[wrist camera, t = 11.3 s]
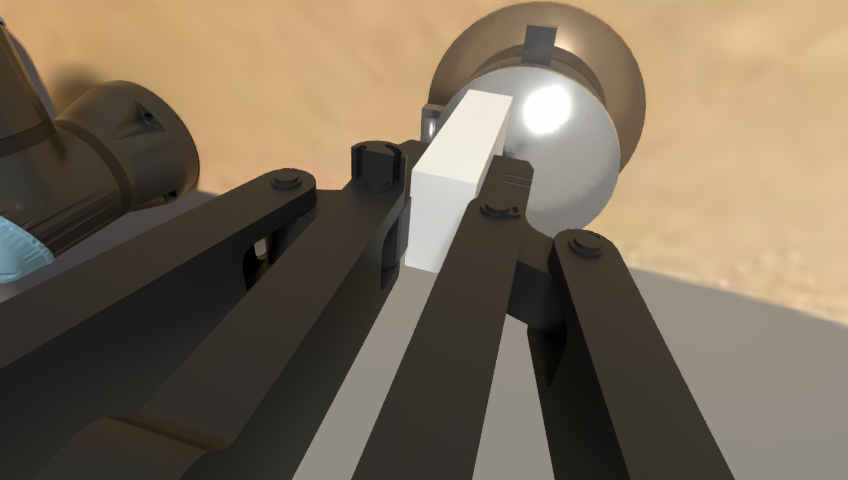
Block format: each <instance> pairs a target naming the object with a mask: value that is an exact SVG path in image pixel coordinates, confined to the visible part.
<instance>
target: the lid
mask: <svg viewBox="0 0 848 480" xmlns="http://www.w3.org/2000/svg"><path fill="white" fill-rule="evenodd" d="M469 89H470V90H476V91H482V92H488V93H494V94H500V95H505V96H511V97H513V101H512V106H511V111H510V116H509V121H508V126H507V131H506V136H505V141H504V146H503V152H502V156H505V157H510V158H515V159H520V160H525V161H529V163H530V164H531V166H532V167H533V169H534V174H533V179H532V184H531V189H530V194H529V199H528V204H527V209H526V219H527V221H528V223H529V224H530V225H531V226H532V227H533V228H535V229H536V230H537V231H539V232H541V233H543V234H544V235H546V236H549V237H551V238H553V239H554V237H555V236H556V235H557V234H558V233H559V232H560V231H563V230H567V229H582V228H584V227H585V226H586V225H588V224H589V223H590V222H591V221H592V220H593V219H595V218H596V217H597V216H598V215H599V213H600V212H601V211H602V210H603V208H604V207H605V206H606V204H607V203H608V201H609V199H610V197H611V196H612V193H613V191H614V188H615V186H616V183H617V179H618V174H619V166H620V146H619V140H618V135H617V131H616V128H615V126H614V123H613V120H612V118H611V117H610V115H609V113H608V111H607V109H606V108H605V106H604V105H603V104H602V103H601V101H600V100H599V99H598V98H597V97H596V96H595V95H594V94H593V93H592V92H591V91H590V90H589V89H588V88H587V87H585V86H584V85H583V84H581V83H580V82H578V81H577V80H575V79H573V78H572V77H570V76H568V75H566V74H564V73H561V72H558V71H555V70H552V69H548V68H543V67H539V66H525V65H524V66H510V67H505V68H501V69H497V70H494V71H491V72H488V73H486V74H484V75H482V76H480V77H478V78H476V79H474V80H473V81H471V82H470V83H469V84H467V85H466V86H464V87H463V88H462V89H461V90H460V91H459V92H458V93H457V94H456V95H455V96H454V97H453V98H452V99H451V100H450V102H449V103H448V104H447V105H446V106H445V108H444V110H443V111H442V113H441V115H440V116H439V119H438V118H437V117H435V116H427V117H425V129H424V142H426V143H432V141H433V140H434V138H435V137H436V136H437V134H438V133H439V131H440V130H441V129H442V127H443V126H444V124H445V123H446V121H447V120H448V119H449V117H450V116H451V114H452V113H453V112H454V110H455V109H456V107H457V106H458V105H459V103H460V102H461V100H462V99H463V97H464V96H465V95H466V93H467V92H468V90H469Z"/></svg>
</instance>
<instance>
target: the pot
mask: <svg viewBox="0 0 848 480" xmlns="http://www.w3.org/2000/svg"><path fill="white" fill-rule="evenodd" d="M524 65H525V66H539V67H543V68H548V69H552V70H555V71H558V72H561V73H564V74H566V75H568V76H570V77H572V78H573V79H575V80H577V81H578V82H580V83H581V84H583V85H584V86H585V87H587V88H588V89H589V90H590V91H591V92H592V93H593V94H594V95H595V96H596V97H597V98H598V99H599V100H600V101H601V103H602V104H603V105H604V106H605V108H606V109H607V111H608V113H609V115H610V117H611V118H612V120H613V123H614V126H615V128H616V131H617V135H618V140H619V146H620V166H619V173H620V172H621V171H622V169H623V168H624V167H625V165H626V164H627V163H628V161H629V160H630V158H631V156H632V154H633V153H634V151H635V149H636V146H637V144H638V141H639V139H640V137H641V133H642V129H643V125H644V119H645V110H646V101H645V89H644V84H643V78H642V75H641V73H640V70H639V67H638V64H637V61H636V60H635V58H634V56H633V54H632V52H631V50H630V48H629V47H628V46H627V44H626V43H625V42H624V40H623V39H622V38H621V37H620V35H618V34H617V33H616V32H615V31H614V30H613V29H612V28H611V27H610V26H609V25H608V24H606V23H605V22H604V21H602V20H601V19H599V18H598V17H596V16H595V15H593V14H591V13H589V12H587V11H585V10H583V9H580V8H577V7H573V6H570V5H567V4H562V3H556V2H538V1H535V2H527V3H519V4H515V5H512V6H508V7H504V8H502V9H499V10H497V11H495V12H492V13H490V14H488V15H487V16H485V17H483V18H481V19H480V20H478V21H476V22H475V23H474V24H473V25H471V26H470V27H469V28H468V29H466V30H465V31H464V32H463V33H462V34H461V35H460V36H459V37H458V38H457V39H456V40H455V41H454V42H453V43H452V45H451V46H450V47H449V49H448V50H447V51H446V53H445V54H444V56H443V58H442V60H441V61H440V63H439V65H438V67H437V69H436V72H435V74H434V77H433V79H432V83H431V87H430V91H429V99H428V104H425V106H424V107H423V108H422V118H421V140H420V141H421V142H424V129H425V117H427V116H435V117H437V118H438V119H439V116H440V115H441V113H442V111H443V110H444V108H445V106H446V105H447V104H448V103H449V102H450V100H451V99H452V98H453V97H454V96H455V95H456V94H457V93H458V92H459V91H460V90H461V89H462V88H463V87H464V86H466V85H467V84H469V83H470V82H471V81H473V80H474V79H476V78H478V77H480V76H482V75H484V74H486V73H488V72H491V71H494V70H497V69H501V68H505V67H510V66H524Z"/></svg>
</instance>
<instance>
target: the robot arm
mask: <svg viewBox="0 0 848 480" xmlns="http://www.w3.org/2000/svg"><path fill="white" fill-rule="evenodd" d="M4 26H6V24H5V22H4V20H3V18H2V17H0V283H7V282H11V281H14V280H17V279H19V278H21V277H22V276H24V275H26V274H28V273H30V272H32V271H34V270H36V269H38V268H40V267H42V266H43V265H48V264H50V263H51V262H53V260H54V259H55V258H56V257H58V256H59V255H61V254H62V253H64V252H66V251H67V250H69V249H70V248H72V247H74V246H75V245H77V244H79V243H80V242H82V241H83V240H85V239H87V238H88V237H90V236H91V235H93V234H94V233H96V232H98V231H99V230H101V229H102V228H104V227H106V226H107V225H109V224H110V223H112V222H114V221H115V220H116V219H118V218H120V217H121V216H123V215H125V214H126V213H129V212H133V211H138V210H143V209H147V208H152V207H156V206H160V205H165V204H169V203H171V202H174V201H175V200H177V199H179V198H180V197H182V196H183V195H185V194H186V193H188V192H189V191H190V190H191V189H192V188H193V187H194V185H195V183H196V181H197V178H198V172H199V162H198V156H197V152H196V148H195V145H194V143H193V140H192V138H191V136H190V134H189V132H188V130H187V128H186V127H185V125H184V124H183V122H182V121H181V119H180V118H179V117H178V116H177V114H176V113H175V112H174V111H173V110H172V109H171V108H170V107H169V106H168V105H167V104H166V103H165V102H164V101H163V100H162V99H161V98H159V97H158V96H157V95H155V94H154V93H153V92H151V91H149V90H148V89H146V88H144V87H142V86H140V85H138V84H135V83H132V82H128V81H121V80H116V81H109V82H106V83H103V84H100V85H97V86H94V87H92V88H90V89H88V90H86V91H85V92H84V93H83V94H82V95H81V96H80V97H78V98H77V99H76V100H75V101H74V102H73V103H72V104H71V105H69V106H68V107H67V108H66V109H65V110H64V111H63V112H62V113H61V114H60V115H58V116H57V117H56V118H55V119H54V120H51V119H50V117H49V115H48V113H47V111H46V109H45V107H44V105H43V103H42V101H41V99H40V97H39V95H38V93H37V91H36V89H35V87H34V85H33V83H32V81H31V79H30V77H29V75H28V73H27V71H26V69H25V67H24V65H23V63H22V61H21V59H20V57H19V55H18V53H17V51H16V50H15V47H14V45H13V44H12V42H11V40H10V38H9V36H8V34H7V32H6V30H5V28H4ZM512 101H513V97H511V96H505V95H500V94H494V93H488V92H482V91H476V90H470V89H469V90H468V92H467V93H466V95H465V96H464V97H463V99H462V100H461V102H460V103H459V105H458V106H457V107H456V109H455V110H454V112H453V113H452V114H451V116H450V117H449V119H448V120H447V121H446V123H445V124H444V126H443V127H442V129H441V130H440V131H439V133H438V134H437V136H436V137H435V138H434V140H433V141H432V143H426V142H421V141H416V140H408V141H406V142H404V143H401V144H399V145H397V144H394V143H391V142H386V141H365V142H361V143H357V144H356V145H354V146H352V147H351V175H352V179H351V180H350V181H349V182H348V183H347V185H346V186H345V187H344V188H343V189H342V190H319V189H316V180H315V178H314V176H313V175H311V174H310V173H308V172H306V171H302V170H298V169H294V168H291V169H290V168H283V169H280V170H274V171H271V172H268V173H265V174H263V175H261V176H259V177H257V178H255V179H253V180H251V181H249V182H247V183H245V184H243V185H241V186H239V187H237V188H235V189H233V190H231V191H228V192H226V193H224V194H222V195H220V196H218V197H216V198H214V199H212V200H210V201H208V202H206V203H204V204H202V205H200V206H198V207H196V208H194V209H192V210H190V211H188V212H186V213H183V214H181V215H179V216H177V217H175V218H173V219H171V220H169V221H167V222H165V223H163V224H161V225H159V226H157V227H155V228H153V229H151V230H149V231H147V232H145V233H143V234H141V235H139V236H137V237H135V238H133V239H130V240H128V241H126V242H124V243H122V244H120V245H118V246H116V247H114V248H112V249H110V250H108V251H106V252H104V253H102V254H100V255H98V256H96V257H94V258H92V259H89V260H87V261H85V262H83V263H81V264H79V265H77V266H75V267H73V268H71V269H69V270H67V271H65V272H63V273H61V274H59V275H57V276H55V277H53V278H51V279H49V280H47V281H45V282H43V283H41V284H38V285H36V286H34V287H32V288H30V289H28V290H26V291H24V292H22V293H20V294H18V295H16V296H14V297H12V298H10V299H8V300H6V301H4V302H2V303H0V480H292V478H293V476H294V474H295V472H296V471H297V469H298V467H299V465H300V463H301V461H302V459H303V457H304V455H305V453H306V451H307V450H308V448H309V446H310V444H311V442H312V440H313V438H314V436H315V434H316V432H317V431H318V429H319V427H320V425H321V423H322V421H323V419H324V417H325V415H326V413H327V411H328V410H329V408H330V406H331V404H332V402H333V400H334V398H335V396H336V394H337V392H338V390H339V389H340V387H341V385H342V383H343V381H344V379H345V377H346V375H347V373H348V371H349V370H350V368H351V366H352V364H353V362H354V360H355V358H356V356H357V354H358V353H359V350H360V349H361V347H362V345H363V343H364V341H365V339H366V337H367V335H368V334H369V332H370V329H371V328H372V326H373V324H374V322H375V320H376V318H377V316H378V314H379V313H380V311H381V309H382V307H383V305H384V303H385V301H386V299H387V297H388V295H389V294H390V292H391V290H392V287H393V286H394V284H395V282H396V280H397V278H398V276H399V268H400V259H401V257H402V255H403V254H404V252H405V250H406V255H405V265H406V266H410V267H414V268H418V269H423V270H426V271H430V272H435V273H438V276H437V278H436V281H435V283H434V286H433V288H432V290H431V293H430V295H429V297H428V300H427V302H426V305H425V307H424V309H423V312H422V314H421V316H420V319H419V321H418V323H417V326H416V328H415V330H414V333H413V335H412V338H411V340H410V342H409V345H408V347H407V349H406V352H405V354H404V357H403V359H402V361H401V363H400V366H399V368H398V370H397V373H396V375H395V378H394V380H393V382H392V385H391V387H390V389H389V392H388V394H387V396H386V399H385V401H384V403H383V406H382V408H381V411H380V413H379V415H378V418H377V420H376V422H375V425H374V427H373V429H372V432H371V434H370V436H369V439H368V441H367V444H366V446H365V448H364V451H363V453H362V456H361V458H360V460H359V462H358V465H357V467H356V470H355V472H354V474H353V476H352V479H351V480H472V476H473V471H474V467H475V462H476V457H477V452H478V447H479V443H480V438H481V433H482V428H483V423H484V418H485V413H486V408H487V404H488V398H489V394H490V389H491V384H492V379H493V374H494V369H495V364H496V360H497V355H498V350H499V345H500V340H501V335H502V330H503V325H504V321H505V316H506V313H507V314H508V315H510V316H512V317H514V318H516V319H518V320H520V321H522V322H524V323H526V324H528V328H527V336H528V340H529V347H530V351H531V357H532V362H533V368H534V373H535V378H536V383H537V389H538V394H539V399H540V404H541V409H542V415H543V420H544V426H545V430H546V436H547V441H548V447H549V452H550V457H551V462H552V467H553V473H554V478H555V480H735V479H734V477H733V475H732V473H731V471H730V469H729V467H728V465H727V463H726V461H725V459H724V457H723V455H722V453H721V451H720V449H719V447H718V445H717V444H716V441H715V440H714V438H713V436H712V434H711V432H710V430H709V428H708V426H707V424H706V422H705V420H704V418H703V416H702V414H701V412H700V410H699V408H698V406H697V404H696V402H695V400H694V398H693V396H692V394H691V392H690V390H689V388H688V386H687V384H686V383H685V381H684V379H683V377H682V375H681V373H680V371H679V369H678V367H677V365H676V363H675V361H674V359H673V357H672V355H671V353H670V351H669V349H668V347H667V345H666V343H665V341H664V339H663V337H662V335H661V333H660V331H659V329H658V328H657V326H656V323H655V322H654V320H653V318H652V316H651V314H650V312H649V310H648V308H647V306H646V304H645V302H644V300H643V298H642V296H641V294H640V292H639V290H638V288H637V286H636V284H635V282H634V280H633V278H632V276H631V274H630V273H629V270H628V268H627V266H626V264H625V263H624V261H623V259H622V257H621V255H620V253H619V251H618V249H617V248H616V247H615V245H614V244H613V243H612V242H611V241H609V240H608V239H606V238H605V237H603V236H602V235H600V234H598V233H594V232H592V231H589V230H582V229H567V230H563V231H560V232H559V233H558V234H557V235H556V236H555V237H554V239H553V238H551V237H549V236H546V235H544V234H543V233H541V232H539V231H537V230H536V229H535V228H533V227H532V226H531V225H530V224H529V223H528V221H527V219H526V209H527V204H528V199H529V194H530V189H531V184H532V179H533V174H534V169H533V167H532V166H531V164H530V163H529V161H525V160H520V159H515V158H510V157H505V156H502V152H503V146H504V141H505V136H506V131H507V126H508V121H509V116H510V111H511V106H512ZM263 238H265V245H266V252H265V253H264V254H262V255H260V256H256V254H255V248H254V244H255V243H256V242H258V241H260V240H261V239H263Z"/></svg>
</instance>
